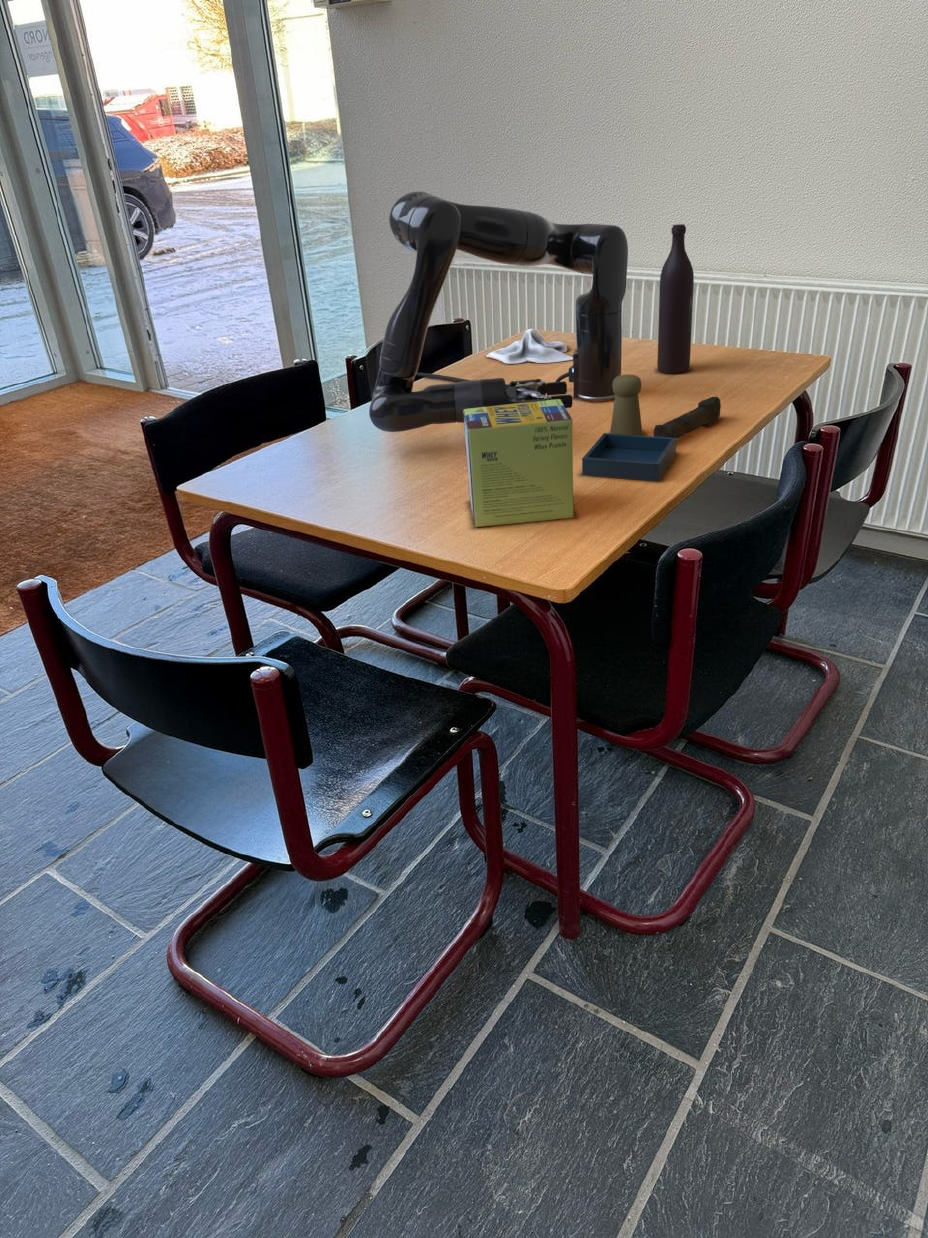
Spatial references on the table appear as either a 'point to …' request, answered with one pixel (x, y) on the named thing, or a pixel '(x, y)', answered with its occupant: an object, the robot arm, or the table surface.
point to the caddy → (629, 457)
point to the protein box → (519, 462)
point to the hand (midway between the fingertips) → (569, 393)
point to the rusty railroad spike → (691, 419)
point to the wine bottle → (675, 307)
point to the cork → (626, 406)
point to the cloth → (532, 350)
